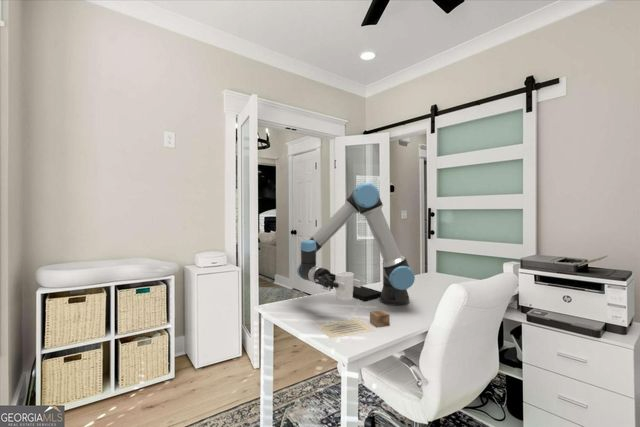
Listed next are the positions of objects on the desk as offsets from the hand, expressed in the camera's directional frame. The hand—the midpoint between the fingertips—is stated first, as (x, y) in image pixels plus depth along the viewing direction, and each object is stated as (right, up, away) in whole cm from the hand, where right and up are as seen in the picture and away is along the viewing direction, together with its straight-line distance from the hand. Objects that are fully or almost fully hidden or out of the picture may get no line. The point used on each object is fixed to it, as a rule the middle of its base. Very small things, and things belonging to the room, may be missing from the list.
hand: (352, 285), depth 126 cm
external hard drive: (+10, -18, +52) cm, 56 cm away
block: (+12, -18, +6) cm, 23 cm away
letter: (-3, -18, +3) cm, 19 cm away
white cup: (-3, -6, +4) cm, 8 cm away
